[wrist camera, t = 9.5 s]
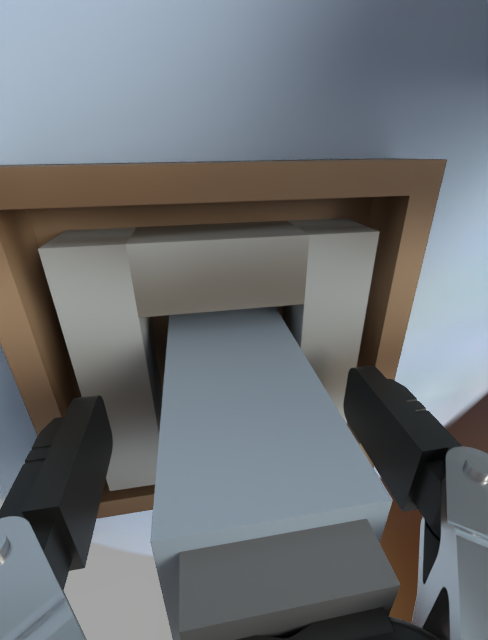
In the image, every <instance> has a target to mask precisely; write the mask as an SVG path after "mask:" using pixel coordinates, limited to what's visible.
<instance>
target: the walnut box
mask: <svg viewBox="0 0 488 640" xmlns="http://www.w3.org/2000/svg"><path fill="white" fill-rule="evenodd" d="M446 162H447V160H446V159H395V158H388V159H330V160H272V161H214V162H156V163H98V164H40V165H0V344H1V346H2V349H3V351H4V354H5V356H6V359H7V361H8V364H9V366H10V369H11V371H12V374H13V376H14V379H15V381H16V384H17V386H18V389H19V391H20V394H21V396H22V399H23V401H24V404H25V406H26V409H27V411H28V414H29V416H30V419H31V421H32V423H33V426H34V428H35V431H36V433H37V436H38V435H39V433H40V432H41V431H42V430H43V429H44V428H45V427H46V426H47V425H48V424H49V423H50V422H51V421H52V420H53V419H54V418H58V417H64V416H65V414H66V412H67V410H68V408H69V405H70V403H71V401H72V400H73V399H74V398H80V397H89V396H98V395H100V396H102V398H103V400H104V404H105V408H106V412H107V416H108V419H109V423H110V427H111V431H112V437H113V448H112V455H111V459H110V463H109V467H108V472H107V476H106V480H105V484H104V489H103V493H102V497H101V501H100V505H99V510H98V514H97V518H103V517H109V516H116V515H122V514H128V513H134V512H140V511H146V510H153V505H154V493H155V481H156V469H157V457H158V445H159V433H160V421H161V409H162V397H163V385H164V373H165V361H166V349H167V337H168V325H169V315H176V314H189V313H201V312H213V311H226V310H238V309H250V308H262V307H276V309H277V310H278V312H279V314H280V315H281V317H282V319H283V320H284V322H285V324H286V325H287V327H288V329H289V330H290V332H291V333H292V335H293V337H294V338H295V340H296V342H297V343H298V345H299V347H300V348H301V350H302V352H303V353H304V355H305V356H306V358H307V360H308V361H309V363H310V365H311V366H312V368H313V370H314V371H315V373H316V375H317V376H318V378H319V380H320V381H321V383H322V384H323V386H324V388H325V389H326V391H327V393H328V394H329V396H330V398H331V399H332V401H333V403H334V404H335V406H336V408H337V409H338V411H339V412H340V414H341V416H342V417H343V419H344V421H345V422H346V424H347V426H348V427H349V429H350V431H351V432H352V434H353V436H354V437H355V439H356V440H357V442H358V444H359V445H360V447H361V449H362V450H363V452H364V454H365V455H366V457H367V459H368V460H369V462H370V464H371V465H372V467H373V468H374V464H373V463H372V461H371V460H370V458H369V456H368V455H367V453H366V451H365V450H364V448H363V447H362V445H361V443H360V442H359V440H358V438H357V437H356V435H355V434H354V432H353V430H352V429H351V427H350V425H349V424H348V422H347V420H346V418H345V414H344V408H343V403H344V397H345V390H346V384H347V378H348V372H349V370H350V369H351V368H355V367H364V366H375V367H376V368H377V369H378V370H379V371H380V372H381V373H382V374H383V375H384V376H385V377H386V378H387V379H393V380H395V376H396V371H397V367H398V363H399V359H400V355H401V351H402V346H403V342H404V338H405V334H406V330H407V325H408V321H409V317H410V313H411V309H412V304H413V300H414V296H415V292H416V288H417V283H418V279H419V275H420V271H421V267H422V263H423V258H424V254H425V250H426V246H427V242H428V237H429V233H430V229H431V225H432V221H433V216H434V212H435V208H436V204H437V200H438V196H439V191H440V187H441V183H442V179H443V175H444V170H445V166H446ZM97 518H96V519H97Z"/></svg>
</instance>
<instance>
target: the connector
mask: <svg viewBox="0 0 488 640" xmlns="http://www.w3.org/2000/svg"><path fill="white" fill-rule="evenodd" d="M391 504H392V498H391V497H390V495H389V493H388V491H387V490H386V488H385V487H384V485H383V483H382V482H381V480H380V478H379V477H378V475H377V473H376V472H375V470H374V468H373V467H372V465H371V464H370V462H369V460H368V459H367V457H366V455H365V454H364V452H363V450H362V449H361V447H360V445H359V444H358V442H357V440H356V439H355V437H354V436H353V434H352V432H351V431H350V429H349V427H348V426H347V424H346V422H345V421H344V419H343V417H342V416H341V414H340V412H339V411H338V409H337V408H336V406H335V404H334V403H333V401H332V399H331V398H330V396H329V394H328V393H327V391H326V389H325V388H324V386H323V384H322V383H321V381H320V380H319V378H318V376H317V375H316V373H315V371H314V370H313V368H312V366H311V365H310V363H309V361H308V360H307V358H306V356H305V355H304V353H303V352H302V350H301V348H300V347H299V345H298V343H297V342H296V340H295V338H294V337H293V335H292V333H291V332H290V330H289V329H288V327H287V325H286V324H285V322H284V320H283V319H282V317H281V315H280V314H279V312H278V310H277V309H276V307H262V308H250V309H238V310H226V311H213V312H201V313H189V314H176V315H169V325H168V337H167V349H166V361H165V373H164V385H163V397H162V409H161V421H160V433H159V445H158V457H157V469H156V481H155V493H154V505H153V517H152V529H151V541H150V542H151V546H152V551H153V555H154V559H155V564H156V568H157V572H158V577H159V581H160V585H161V590H162V594H163V599H164V603H165V607H166V612H167V615H168V620H169V625H170V629H171V633H172V638H173V640H236V639H241V638H245V637H250V636H254V635H257V636H265V637H273V638H281V639H286V638H290V637H292V636H294V635H295V634H297V633H299V632H300V631H302V630H303V629H305V628H306V627H308V626H310V625H311V624H313V623H314V622H317V621H321V620H326V619H330V618H335V617H339V616H344V615H348V614H353V613H357V612H362V611H366V610H370V609H375V608H379V607H384V609H385V612H386V614H387V616H389V613H390V610H391V608H392V605H393V603H394V600H395V597H396V595H397V592H398V590H399V587H400V583H399V581H398V579H397V577H396V575H395V573H394V571H393V569H392V567H391V565H390V563H389V561H388V560H387V558H386V555H385V553H384V551H383V550H382V548H381V546H380V544H379V543H380V539H381V537H382V534H383V530H384V527H385V523H386V520H387V517H388V514H389V510H390V507H391Z"/></svg>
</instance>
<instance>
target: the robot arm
mask: <svg viewBox="0 0 488 640" xmlns="http://www.w3.org/2000/svg"><path fill="white" fill-rule="evenodd" d="M343 408H344V414H345V418H346V420H347V422H348V424H349V425H350V427H351V429H352V430H353V432H354V434H355V435H356V437H357V438H358V440H359V442H360V443H361V445H362V447H363V448H364V450H365V451H366V453H367V455H368V456H369V458H370V460H371V461H372V463H373V464H374V466H375V468H376V469H377V471H378V473H379V474H380V476H381V477H382V479H383V481H384V482H385V484H386V486H387V487H388V489H389V490H390V491H391V494H392V495H393V497H394V498H395V500H396V502H397V503H398V505H399V507H400V508H401V510H402V511H403V512H405V511H410V510H416V509H418V510H419V512H420V513H421V515H422V516H423V519H422V521H421V529H420V551H419V572H418V573H419V574H418V591H417V599H416V604H415V608H414V613H413V620H412V623H409V622H407V621H404V620H400V619H397V618H393V617H388V616H387V614H386V612H385V609H384V607H379V608H375V609H370V610H366V611H362V612H357V613H353V614H348V615H344V616H339V617H335V618H330V619H326V620H321V621H317V622H314V623H313V624H311V625H310V626H308V627H306V628H305V629H303V630H302V631H300V632H299V633H297V634H295V635H294V636H292V637H290V638H286V639H281V638H273V637H265V636H257V635H254V636H250V637H245V638H241V639H236V640H488V454H487V453H485V452H482V451H480V450H477V449H474V448H470V447H463V446H461V444H460V443H459V442H458V441H457V440H456V439H455V438H454V437H453V436H452V435H451V434H450V433H449V432H448V431H447V430H446V429H445V428H444V427H443V426H442V425H441V424H440V423H439V421H438V420H437V419H436V418H435V417H434V416H433V415H432V414H431V413H430V412H429V411H426V408H425V407H424V406H423V405H422V404H421V403H420V402H419V401H417V399H416V397H415V396H414V395H413V394H412V393H411V392H410V391H409V390H408V389H407V388H406V387H404V386H403V385H401V384H399V383H398V382H396V381H394V380H393V379H387V378H386V377H385V376H384V375H383V374H382V373H381V372H380V371H379V370H378V369H377V368H376V367H375V366H364V367H355V368H351V369H350V370H349V372H348V378H347V384H346V390H345V397H344V403H343ZM112 448H113V437H112V431H111V427H110V423H109V419H108V416H107V412H106V408H105V404H104V400H103V398H102V396H100V395H98V396H89V397H80V398H74V399H73V400H72V401H71V403H70V405H69V408H68V410H67V412H66V414H65V416H64V417H58V418H54V419H53V420H52V421H51V422H50V423H49V424H48V425H47V426H46V427H45V428H44V429H43V430H42V431H41V432H40V433H39V435H38V437H37V439H36V441H35V443H34V445H33V447H32V451H30V453H29V454H28V456H27V458H26V460H25V464H24V465H23V466H22V468H21V470H20V472H19V474H18V476H17V478H16V480H15V482H14V484H13V486H12V488H11V489H10V491H9V493H8V495H7V497H6V499H5V501H4V503H3V505H2V507H1V509H0V640H86V637H85V635H84V633H83V631H82V629H81V627H80V625H79V623H78V621H77V619H76V616H75V614H74V612H73V610H72V608H71V606H70V604H69V602H68V600H67V597H66V595H65V593H64V591H63V590H64V586H65V583H66V579H67V575H68V572H69V571H70V570H76V569H82V568H85V564H86V560H87V556H88V552H89V547H90V543H91V539H92V535H93V531H94V527H95V522H96V518H97V514H98V510H99V505H100V501H101V497H102V493H103V489H104V484H105V480H106V476H107V472H108V467H109V463H110V459H111V455H112Z"/></svg>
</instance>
